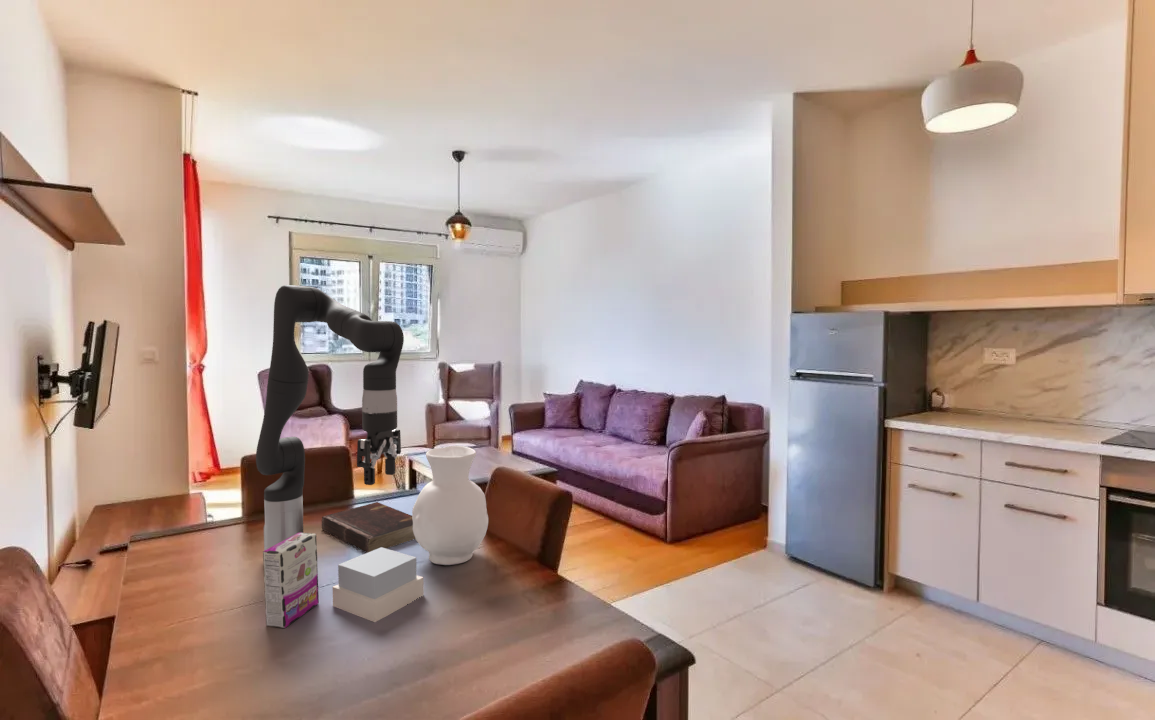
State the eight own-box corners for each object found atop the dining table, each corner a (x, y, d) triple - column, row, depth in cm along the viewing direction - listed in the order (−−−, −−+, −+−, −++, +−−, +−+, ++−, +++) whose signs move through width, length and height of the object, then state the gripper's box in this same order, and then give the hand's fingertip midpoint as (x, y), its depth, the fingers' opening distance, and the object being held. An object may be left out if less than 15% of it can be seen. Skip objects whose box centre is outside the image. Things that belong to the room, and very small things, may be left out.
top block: (338, 586, 125) (338, 564, 125) (381, 567, 136) (381, 547, 135) (374, 599, 119) (374, 576, 119) (416, 578, 130) (416, 557, 129)
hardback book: (321, 531, 174) (321, 515, 174) (377, 516, 188) (377, 501, 188) (368, 555, 155) (368, 538, 155) (426, 537, 169) (426, 521, 169)
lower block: (332, 608, 125) (332, 586, 125) (382, 584, 137) (382, 564, 137) (374, 624, 118) (374, 602, 118) (423, 598, 130) (423, 577, 130)
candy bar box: (300, 601, 127) (298, 531, 126) (319, 603, 126) (318, 533, 125) (263, 626, 116) (261, 550, 116) (284, 629, 115) (282, 552, 115)
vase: (438, 582, 137) (437, 462, 136) (401, 556, 153) (400, 449, 152) (501, 562, 149) (501, 452, 148) (461, 540, 166) (461, 440, 164)
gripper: (382, 404, 133) (382, 470, 134) (345, 412, 119) (346, 486, 120) (410, 405, 132) (410, 472, 133) (377, 414, 118) (377, 489, 119)
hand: (380, 479), depth 127 cm, fingers open, 8 cm apart
